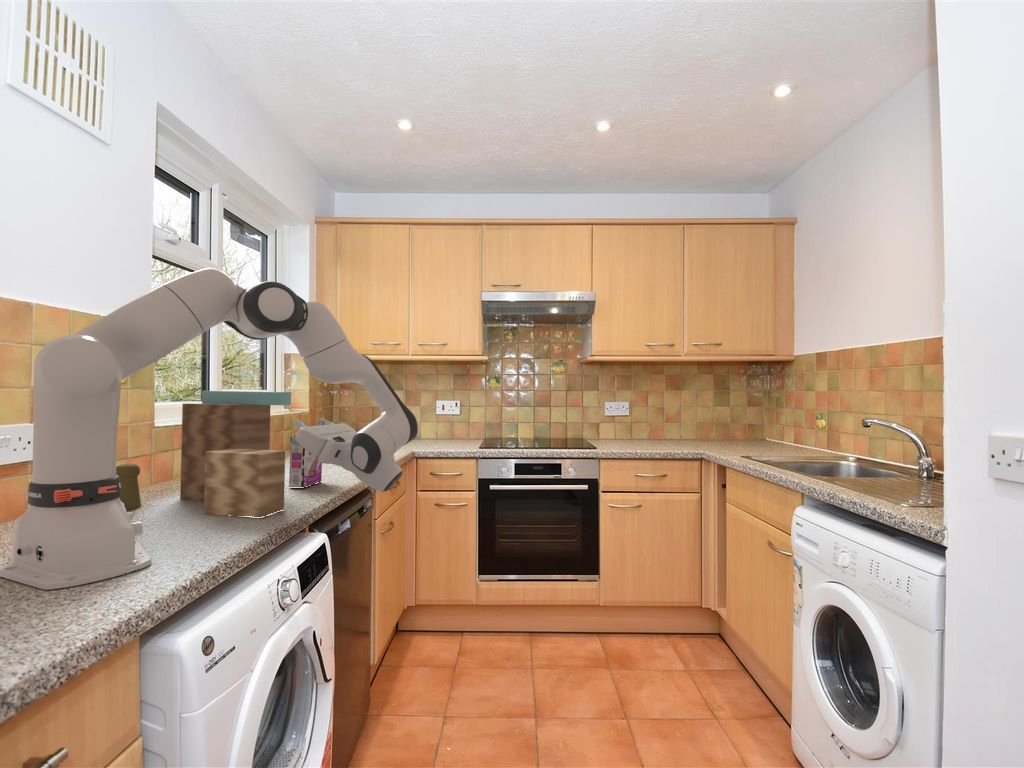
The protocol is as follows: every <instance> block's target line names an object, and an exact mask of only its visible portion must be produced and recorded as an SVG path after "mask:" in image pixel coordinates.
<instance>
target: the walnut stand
mask: <svg viewBox="0 0 1024 768" xmlns="http://www.w3.org/2000/svg"><path fill="white" fill-rule="evenodd" d="M181 408H182V411H181V415H182V417H181V418H182V419H181V448H180V449H181V451H180V452H181V455H180V494H179V496H180V497H179V498H180V499H179V500H182V501H183V500H186V501H196V502H204V486H205V452H207V451H214V450H221V449H228V448H240V449H260V450H271V448H270V445H271V444H270V443H271V442H270V441H271V405H249V404H209V403H202V402H195V403H194V402H188V403H187V402H186V403H182V407H181Z"/></svg>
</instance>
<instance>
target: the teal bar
mask: <svg viewBox="0 0 1024 768" xmlns="http://www.w3.org/2000/svg"><path fill="white" fill-rule="evenodd" d="M201 391H202V393H201V403H209V404H249V405H270V406H291V405H292V392H291V391H289V392H288V391H247V390H246V391H242V390H241V391H240V390H231V391H230V390H201Z"/></svg>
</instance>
